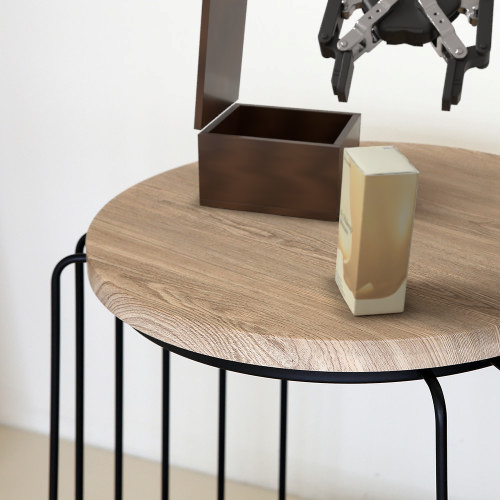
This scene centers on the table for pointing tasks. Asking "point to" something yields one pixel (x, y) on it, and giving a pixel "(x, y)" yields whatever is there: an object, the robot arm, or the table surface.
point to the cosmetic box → (375, 228)
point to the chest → (276, 160)
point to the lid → (219, 58)
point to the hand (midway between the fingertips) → (393, 102)
